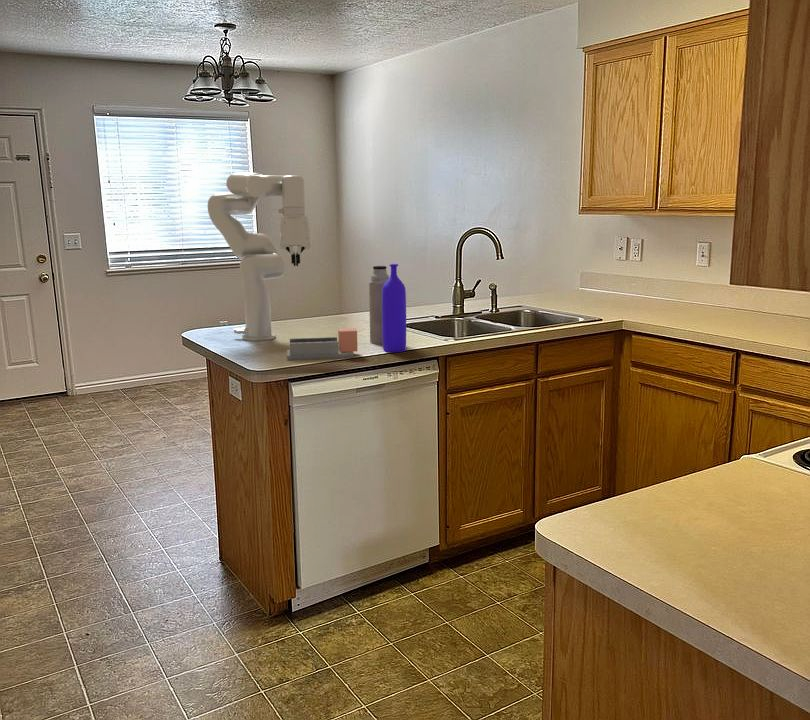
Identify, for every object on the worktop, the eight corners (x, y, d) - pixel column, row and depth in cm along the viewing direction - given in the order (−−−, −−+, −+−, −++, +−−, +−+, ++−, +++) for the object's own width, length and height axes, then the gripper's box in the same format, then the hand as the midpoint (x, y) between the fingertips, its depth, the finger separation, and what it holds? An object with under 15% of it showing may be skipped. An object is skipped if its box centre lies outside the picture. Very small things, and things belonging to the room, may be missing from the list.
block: (339, 352, 249) (339, 331, 248) (338, 348, 255) (338, 328, 253) (357, 351, 250) (357, 330, 249) (356, 348, 256) (355, 328, 254)
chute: (287, 360, 245) (286, 343, 244) (287, 354, 255) (286, 338, 254) (353, 357, 248) (353, 341, 247) (351, 351, 258) (351, 336, 257)
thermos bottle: (377, 339, 280) (376, 264, 274) (395, 341, 276) (394, 265, 270) (365, 342, 274) (364, 266, 268) (384, 344, 270) (383, 267, 264)
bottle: (377, 350, 260) (376, 264, 254) (394, 347, 266) (394, 262, 259) (394, 353, 254) (393, 265, 248) (411, 350, 260) (410, 264, 253)
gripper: (271, 212, 252) (274, 267, 256) (316, 212, 254) (317, 266, 258) (272, 212, 259) (274, 265, 263) (315, 212, 261) (317, 264, 265)
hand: (295, 265), depth 261 cm, fingers closed
